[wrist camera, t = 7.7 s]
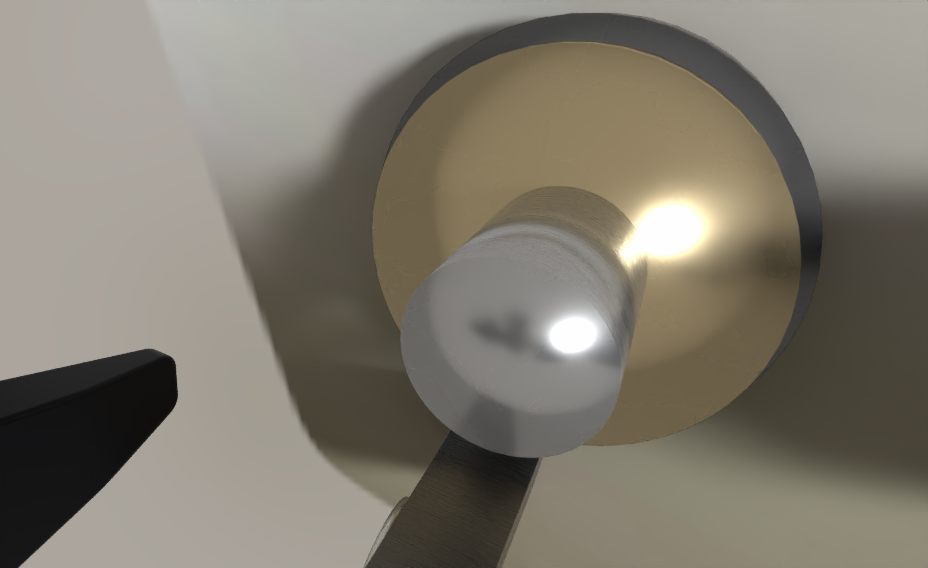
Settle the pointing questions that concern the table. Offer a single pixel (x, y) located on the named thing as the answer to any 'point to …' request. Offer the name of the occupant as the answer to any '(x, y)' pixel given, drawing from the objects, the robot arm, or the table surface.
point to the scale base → (511, 478)
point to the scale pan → (628, 188)
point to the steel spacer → (529, 324)
